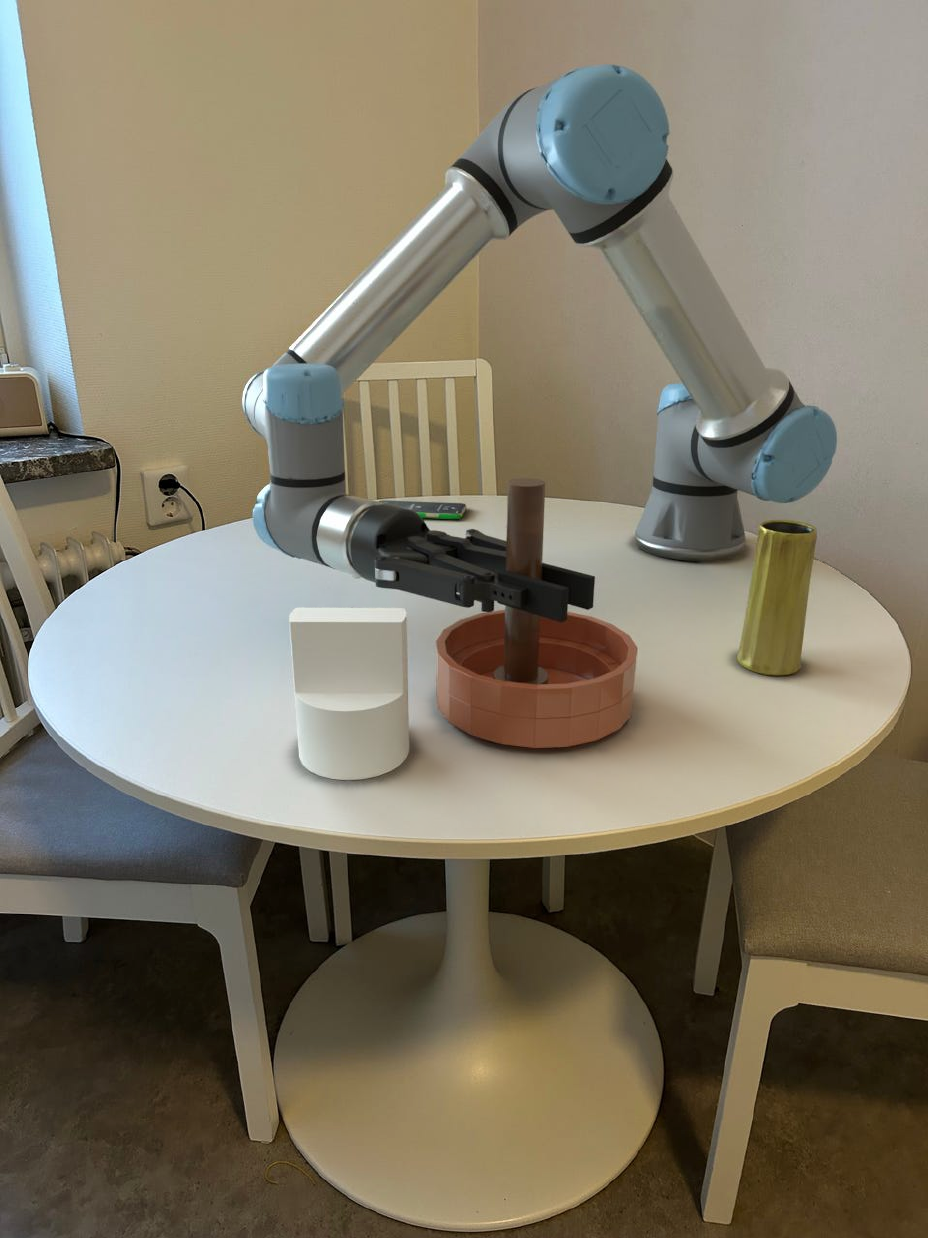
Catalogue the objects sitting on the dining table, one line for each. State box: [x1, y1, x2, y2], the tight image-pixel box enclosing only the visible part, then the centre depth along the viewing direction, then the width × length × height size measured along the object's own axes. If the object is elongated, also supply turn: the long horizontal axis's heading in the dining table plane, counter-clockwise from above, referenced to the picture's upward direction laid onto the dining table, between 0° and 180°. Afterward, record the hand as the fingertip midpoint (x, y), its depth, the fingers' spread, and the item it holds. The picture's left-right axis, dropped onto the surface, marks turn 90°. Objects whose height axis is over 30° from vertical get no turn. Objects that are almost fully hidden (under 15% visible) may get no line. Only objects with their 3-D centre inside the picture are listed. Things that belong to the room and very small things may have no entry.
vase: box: [736, 519, 818, 677], centre depth 85 cm, size 6×6×14 cm
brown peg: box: [493, 477, 548, 685], centre depth 73 cm, size 5×5×19 cm
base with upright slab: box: [288, 607, 410, 781], centre depth 70 cm, size 9×9×12 cm
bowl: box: [435, 609, 638, 749], centre depth 78 cm, size 18×18×6 cm
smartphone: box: [377, 499, 467, 520], centre depth 142 cm, size 8×1×15 cm
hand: (578, 598), depth 70 cm, fingers closed on brown peg, 3 cm apart
